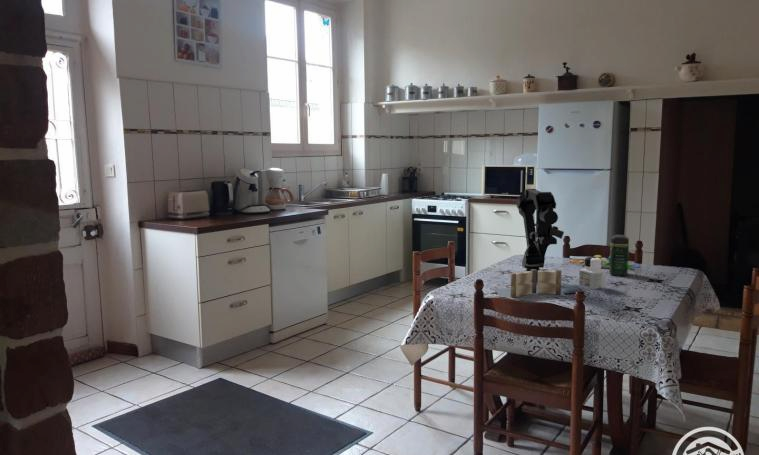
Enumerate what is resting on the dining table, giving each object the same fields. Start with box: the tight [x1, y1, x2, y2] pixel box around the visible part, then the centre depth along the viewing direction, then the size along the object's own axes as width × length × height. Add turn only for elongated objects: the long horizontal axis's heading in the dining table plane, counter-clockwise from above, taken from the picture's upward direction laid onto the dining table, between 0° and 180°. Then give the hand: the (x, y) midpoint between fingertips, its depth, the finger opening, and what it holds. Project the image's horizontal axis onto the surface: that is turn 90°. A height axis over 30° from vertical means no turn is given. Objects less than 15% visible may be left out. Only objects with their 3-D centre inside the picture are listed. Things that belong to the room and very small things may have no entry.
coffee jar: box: [609, 234, 630, 277], centre depth 270 cm, size 10×8×19 cm
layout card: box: [493, 287, 567, 298], centre depth 239 cm, size 15×26×1 cm, turn 92°
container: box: [578, 256, 607, 290], centre depth 246 cm, size 8×8×13 cm
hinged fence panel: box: [510, 269, 538, 298], centre depth 233 cm, size 13×2×9 cm, turn 121°
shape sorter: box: [569, 254, 640, 271], centre depth 293 cm, size 34×19×5 cm, turn 57°
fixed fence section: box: [537, 269, 563, 294], centre depth 234 cm, size 9×2×10 cm, turn 72°
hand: (542, 257), depth 246 cm, fingers closed
